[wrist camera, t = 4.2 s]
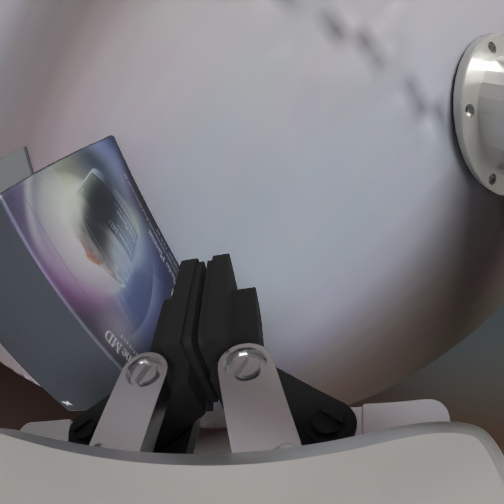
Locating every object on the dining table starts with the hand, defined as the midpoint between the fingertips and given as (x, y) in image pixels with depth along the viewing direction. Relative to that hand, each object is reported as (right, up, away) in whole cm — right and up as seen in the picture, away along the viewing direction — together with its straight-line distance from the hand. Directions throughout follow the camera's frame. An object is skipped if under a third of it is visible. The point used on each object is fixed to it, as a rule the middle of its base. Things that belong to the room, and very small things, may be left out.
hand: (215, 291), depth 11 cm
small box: (-8, +3, +8) cm, 11 cm away
